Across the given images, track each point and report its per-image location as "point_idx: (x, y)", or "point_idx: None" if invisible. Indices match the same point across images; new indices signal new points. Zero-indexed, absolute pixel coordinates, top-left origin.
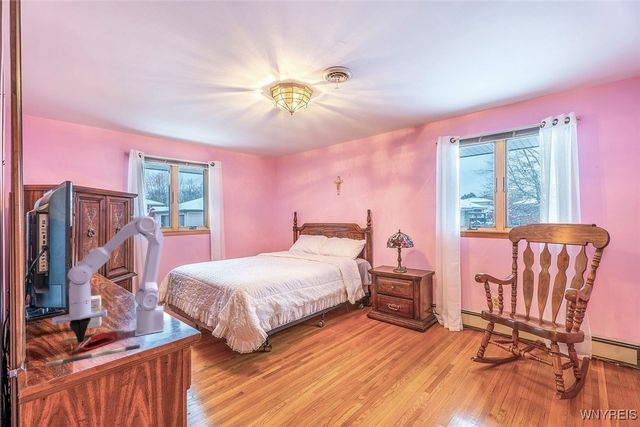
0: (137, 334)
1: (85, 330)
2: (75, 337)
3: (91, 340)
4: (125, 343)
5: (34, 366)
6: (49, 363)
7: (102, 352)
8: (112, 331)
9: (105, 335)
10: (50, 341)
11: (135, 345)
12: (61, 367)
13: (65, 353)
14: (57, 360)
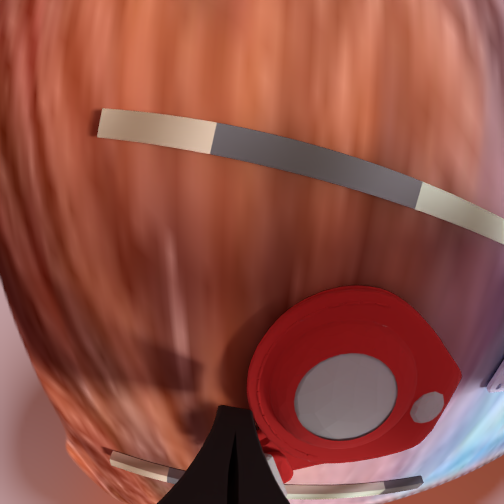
0: (499, 382)
1: (264, 475)
2: (192, 147)
3: (288, 475)
4: None
5: (73, 427)
6: (124, 469)
7: (307, 498)
8: (439, 412)
9: (378, 452)
10: (45, 59)
11: (410, 485)
12: None
13: (155, 400)
14: (146, 470)
